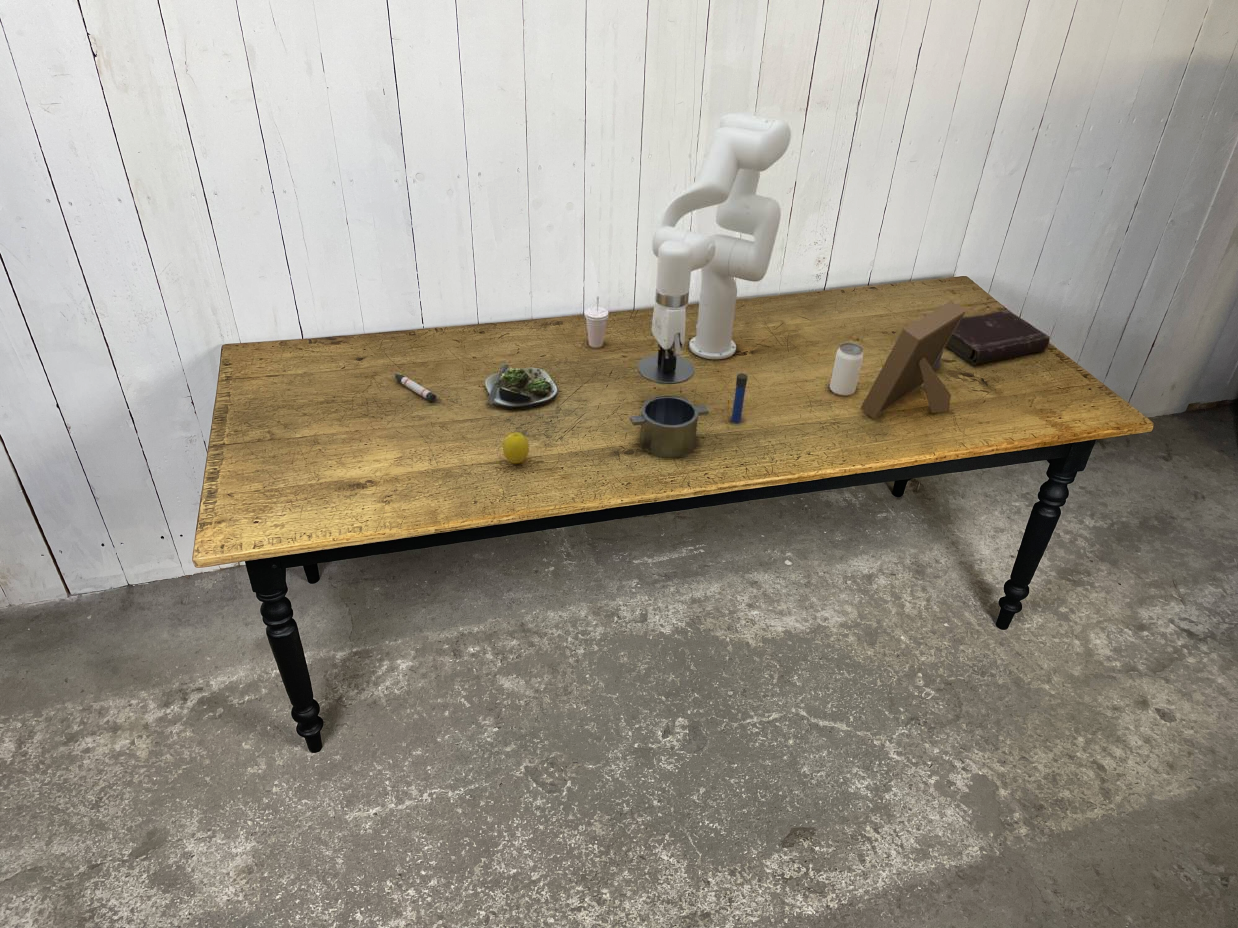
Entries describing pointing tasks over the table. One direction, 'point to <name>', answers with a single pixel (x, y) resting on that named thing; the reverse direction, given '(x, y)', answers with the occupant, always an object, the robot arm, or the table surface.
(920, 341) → the photo frame
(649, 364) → the pot lid
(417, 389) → the marker
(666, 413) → the pot
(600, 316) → the smoothie
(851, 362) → the can
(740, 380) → the pen
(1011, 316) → the diary
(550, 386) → the salad plate
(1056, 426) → the table surface
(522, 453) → the lemon
